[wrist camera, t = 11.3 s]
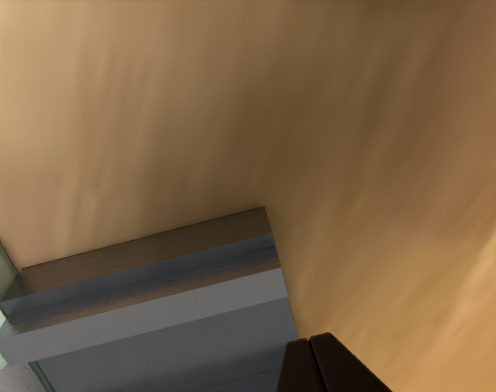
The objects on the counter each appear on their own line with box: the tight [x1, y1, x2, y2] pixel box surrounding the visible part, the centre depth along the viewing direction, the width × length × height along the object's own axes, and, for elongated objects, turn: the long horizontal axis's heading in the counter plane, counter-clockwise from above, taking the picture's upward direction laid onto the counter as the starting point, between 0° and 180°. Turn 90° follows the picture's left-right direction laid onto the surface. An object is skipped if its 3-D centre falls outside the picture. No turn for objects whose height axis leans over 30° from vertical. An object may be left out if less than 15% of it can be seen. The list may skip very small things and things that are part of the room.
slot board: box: [0, 207, 298, 392], centre depth 20 cm, size 12×10×4 cm
